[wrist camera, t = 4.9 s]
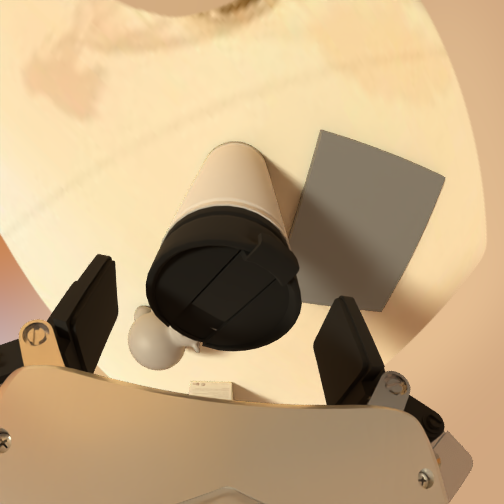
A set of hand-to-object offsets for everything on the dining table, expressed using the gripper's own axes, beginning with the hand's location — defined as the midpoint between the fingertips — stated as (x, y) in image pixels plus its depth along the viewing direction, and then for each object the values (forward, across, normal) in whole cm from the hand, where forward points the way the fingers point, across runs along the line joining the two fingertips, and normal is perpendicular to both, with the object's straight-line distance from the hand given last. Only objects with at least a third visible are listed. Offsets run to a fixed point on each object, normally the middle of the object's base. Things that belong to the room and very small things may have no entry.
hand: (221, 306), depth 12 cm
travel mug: (+19, 0, -1) cm, 19 cm away
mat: (+19, -15, +3) cm, 24 cm away
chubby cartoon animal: (+20, +4, +18) cm, 27 cm away
